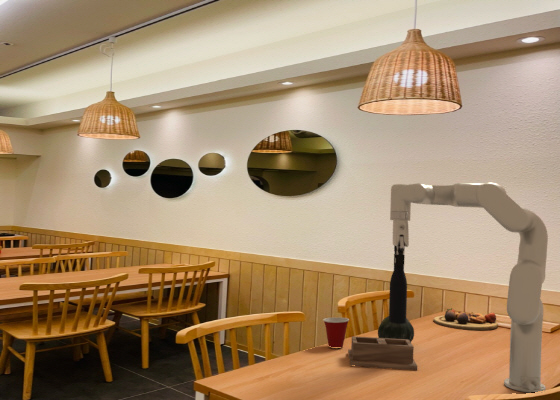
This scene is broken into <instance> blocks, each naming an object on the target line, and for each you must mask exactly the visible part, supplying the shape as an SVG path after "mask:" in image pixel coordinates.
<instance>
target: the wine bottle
mask: <svg viewBox="0 0 560 400" xmlns="http://www.w3.org/2000/svg"><path fill="white" fill-rule="evenodd" d="M404 244H405V243H404ZM393 246H394V247H393V249H394V250H393V251H394V252H395V251H396V255H397V246H395V245H393ZM398 246H400V245H398ZM405 248H406V247H405V245H404V252H406V251H405ZM398 249H399V248H398ZM389 281H390V282H389V298H388V299H389V302H388V303H389V304H388V316H389V322H391V323H397V324H404V323H406V318H407V305H408V303H407V301H408V280H407V277H406V273H405V265H404V266H397V265H396V258H395V263H394V262H393V271H392V273H391V277H390V280H389Z"/></svg>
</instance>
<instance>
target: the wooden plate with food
mask: <svg viewBox="0 0 560 400" xmlns="http://www.w3.org/2000/svg"><path fill="white" fill-rule="evenodd" d="M433 322H434V323H435V324H436V325H438V326H442V327H447V328H452V329H458V330H468V331H486V330H487V331H489V330H495V329H497V328H498V327H499V323H498V322H497V316H496V314H495V313H494V312H488V313H486V314H485V315H483V314H482V313H479V312H477V313H472V314H471V313H466V311H458V312H457V313H456V310H455V309H453V308H452V307H451V308H447V309H446V311H445V312H444V315H438V316H435V317H433Z"/></svg>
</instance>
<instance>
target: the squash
mask: <svg viewBox="0 0 560 400" xmlns="http://www.w3.org/2000/svg"><path fill="white" fill-rule="evenodd" d="M414 336H415V329H414V326H413V325H412V323H411V322H410V320H409V319H408V318H407V317H406V323H404V324H397V323H391V322H389V315H388V316H386V317H385V318H383V320H382V321H381V322H380V324H379V326H378V328H377V338H391V339H409V341H410V342H411V343H412V341H413V340H414V338H415V337H414Z"/></svg>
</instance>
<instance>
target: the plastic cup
mask: <svg viewBox="0 0 560 400" xmlns="http://www.w3.org/2000/svg"><path fill="white" fill-rule="evenodd" d="M322 321H323V322H324V325H325V331H326V332H325V333H326V338H327V345H329V346H331V347H342V348H343V347H344V344H345V343H344V342H345V338H346V334H347V333H346V332H347V329H348V323H349V321H350V319H349V318H347V317H326V318H323V319H322ZM329 346H328V347H329Z"/></svg>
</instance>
